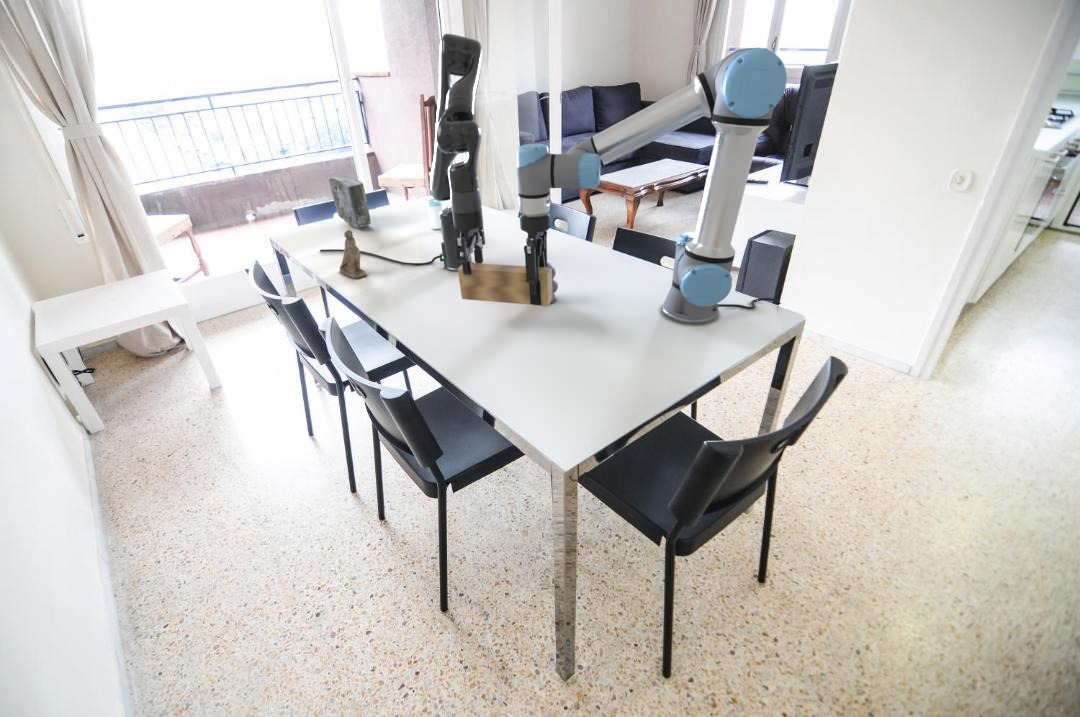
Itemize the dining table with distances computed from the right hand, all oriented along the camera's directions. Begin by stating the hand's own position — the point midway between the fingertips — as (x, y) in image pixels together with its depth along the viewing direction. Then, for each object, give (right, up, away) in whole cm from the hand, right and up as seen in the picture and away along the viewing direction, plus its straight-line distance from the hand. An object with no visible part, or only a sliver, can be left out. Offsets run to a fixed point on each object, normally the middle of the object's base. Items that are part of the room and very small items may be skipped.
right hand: (538, 299), depth 134 cm
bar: (-9, 0, +2) cm, 9 cm away
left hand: (-17, +8, 0) cm, 20 cm away
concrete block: (-85, +46, +97) cm, 137 cm away
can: (-45, +43, +90) cm, 109 cm away
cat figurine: (+2, +2, +20) cm, 21 cm away
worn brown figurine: (-67, +15, +45) cm, 82 cm away
